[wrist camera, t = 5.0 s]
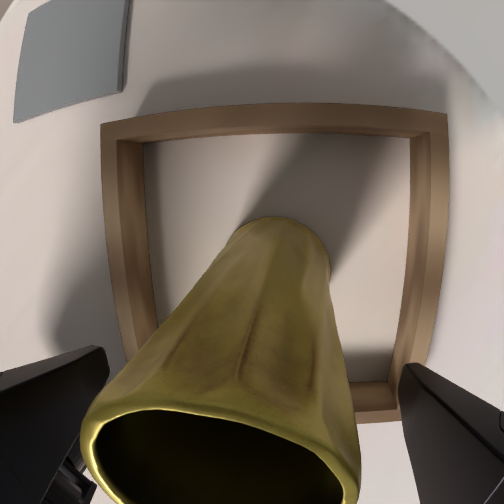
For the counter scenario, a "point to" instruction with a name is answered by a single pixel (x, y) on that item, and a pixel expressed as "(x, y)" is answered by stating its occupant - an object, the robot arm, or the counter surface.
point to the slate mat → (70, 55)
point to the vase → (235, 388)
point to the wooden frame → (269, 122)
